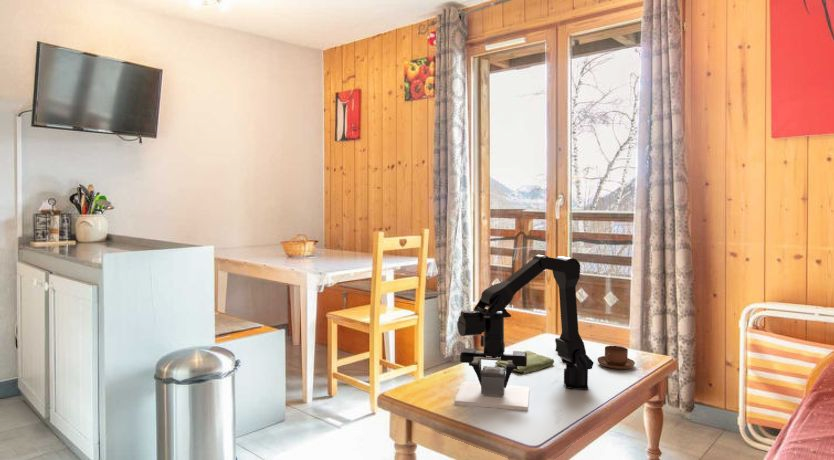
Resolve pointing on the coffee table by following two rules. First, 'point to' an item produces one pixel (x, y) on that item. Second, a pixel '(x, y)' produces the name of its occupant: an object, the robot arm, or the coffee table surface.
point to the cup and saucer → (616, 358)
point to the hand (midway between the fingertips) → (493, 386)
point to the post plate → (493, 397)
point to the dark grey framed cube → (493, 380)
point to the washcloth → (530, 363)
